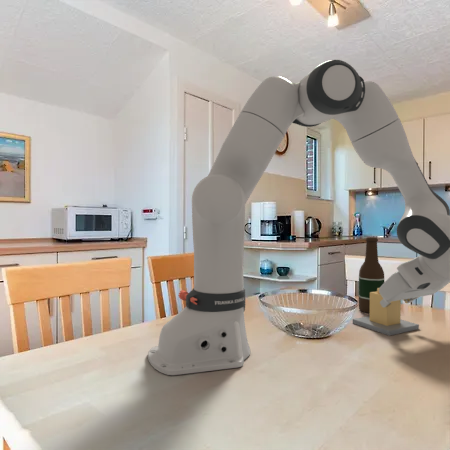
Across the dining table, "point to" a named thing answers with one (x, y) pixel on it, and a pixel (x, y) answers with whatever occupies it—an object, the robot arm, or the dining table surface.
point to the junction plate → (388, 330)
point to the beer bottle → (369, 275)
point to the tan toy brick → (384, 310)
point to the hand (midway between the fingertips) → (394, 303)
